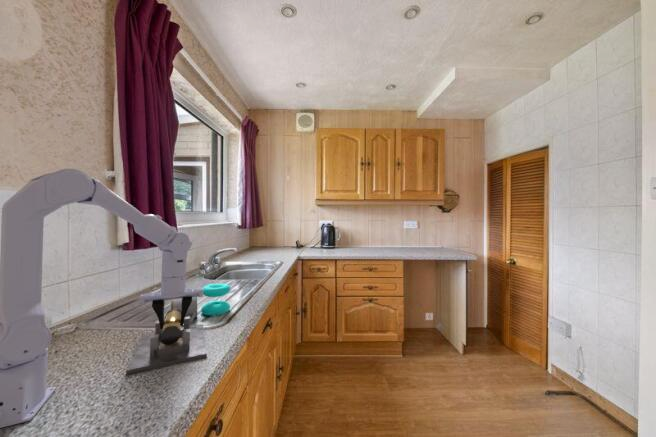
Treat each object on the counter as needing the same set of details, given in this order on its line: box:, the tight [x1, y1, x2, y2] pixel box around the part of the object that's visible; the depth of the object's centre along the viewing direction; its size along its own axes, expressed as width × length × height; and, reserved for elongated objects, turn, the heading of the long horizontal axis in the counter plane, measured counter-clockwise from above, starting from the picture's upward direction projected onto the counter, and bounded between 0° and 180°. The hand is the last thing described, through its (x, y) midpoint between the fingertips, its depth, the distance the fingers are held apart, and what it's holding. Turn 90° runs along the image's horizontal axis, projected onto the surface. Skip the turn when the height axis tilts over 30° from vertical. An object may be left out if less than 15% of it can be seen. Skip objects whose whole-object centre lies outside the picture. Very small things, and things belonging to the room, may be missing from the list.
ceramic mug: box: [170, 297, 198, 324], centre depth 87 cm, size 11×8×8 cm
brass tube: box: [160, 308, 182, 345], centre depth 68 cm, size 16×4×4 cm, turn 29°
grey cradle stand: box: [125, 316, 208, 376], centre depth 68 cm, size 21×16×6 cm
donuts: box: [200, 282, 231, 317], centre depth 96 cm, size 10×10×10 cm
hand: (172, 326), depth 68 cm, fingers closed on brass tube, 4 cm apart
